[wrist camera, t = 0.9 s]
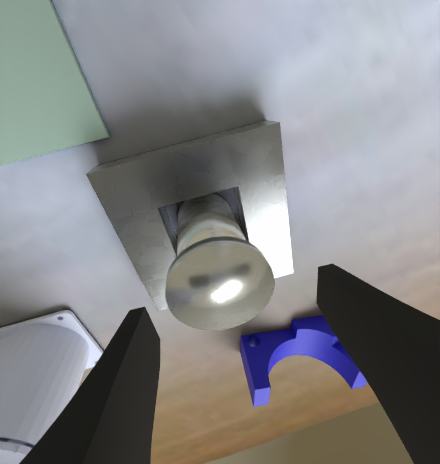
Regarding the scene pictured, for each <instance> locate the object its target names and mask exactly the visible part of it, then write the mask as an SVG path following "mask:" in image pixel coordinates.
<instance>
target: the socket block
mask: <svg viewBox="0 0 440 464" xmlns="http://www.w3.org/2000/svg"><path fill="white" fill-rule="evenodd" d="M86 175H87V177H88V179H89V181H90V183H91V185H92V187H93V189H94V191H95V192H96V194H97V196H98V198H99V200H100V202H101V204H102V206H103V208H104V210H105V212H106V214H107V215H108V217H109V219H110V221H111V223H112V225H113V227H114V229H115V231H116V233H117V235H118V237H119V238H120V240H121V242H122V244H123V246H124V248H125V250H126V252H127V254H128V256H129V258H130V260H131V261H132V263H133V265H134V267H135V269H136V271H137V273H138V275H139V277H140V279H141V281H142V283H143V284H144V286H145V288H146V290H147V292H148V294H149V296H150V298H151V300H152V302H153V304H154V306H155V308H156V309H157V311H159V310H163V309H166V308H168V305H167V303H166V298H165V287H166V277H167V273H168V270H169V267H170V265H171V264H172V262H173V261H174V259H175V258H176V257H177V239H176V236H175V234H174V231H173V228H172V226H171V223H170V220H169V218H168V215H167V212H166V210H165V207H164V206H167V205H170V204H174V203H178V202H181V201H185V200H189V199H192V198H196V197H200V196H203V195H207V194H211V193H214V192H218V191H222V190H225V189H229V188H233V187H234V191H235V196H236V201H237V206H238V211H239V216H240V220H241V225H242V230H243V235H244V237H245V239H246V241H248V242H250V243H252V244H253V245H255V246H256V247H257V248H258V249H259V250H260V251H261V252H262V253H263V254H264V256H265V257H266V259H267V261H268V263H269V265H270V266H271V268H272V271H273V274H274V278H277V277H280V276H284V275H288V274H291V273H293V263H292V252H291V241H290V230H289V219H288V208H287V197H286V186H285V175H284V164H283V153H282V142H281V131H280V122H275V121H268V120H265V121H262V122H258V123H254V124H250V125H247V126H243V127H239V128H235V129H232V130H228V131H224V132H220V133H217V134H213V135H209V136H205V137H202V138H198V139H194V140H190V141H187V142H183V143H179V144H175V145H172V146H168V147H164V148H160V149H157V150H153V151H149V152H145V153H142V154H138V155H134V156H130V157H127V158H123V159H119V160H115V161H112V162H108V163H104V164H100V165H98V166H97V167H95V168H94V169H92V170H91V171H90V172H88V173H87V174H86Z"/></svg>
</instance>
